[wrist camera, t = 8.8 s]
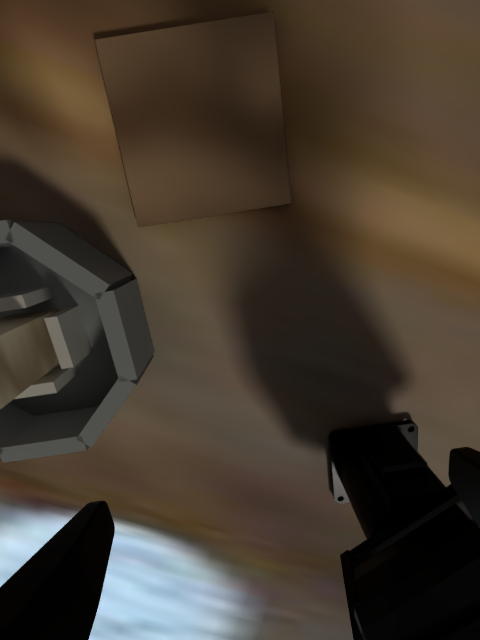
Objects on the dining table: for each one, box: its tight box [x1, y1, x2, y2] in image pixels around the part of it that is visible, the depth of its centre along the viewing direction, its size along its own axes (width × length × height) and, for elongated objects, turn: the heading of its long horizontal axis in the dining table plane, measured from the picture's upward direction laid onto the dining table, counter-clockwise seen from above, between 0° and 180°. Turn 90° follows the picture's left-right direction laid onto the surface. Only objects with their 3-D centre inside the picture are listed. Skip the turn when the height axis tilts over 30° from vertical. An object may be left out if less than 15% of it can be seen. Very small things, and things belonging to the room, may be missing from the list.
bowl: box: [0, 220, 154, 463], centre depth 18 cm, size 13×13×4 cm
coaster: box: [95, 11, 291, 227], centre depth 17 cm, size 9×9×1 cm
